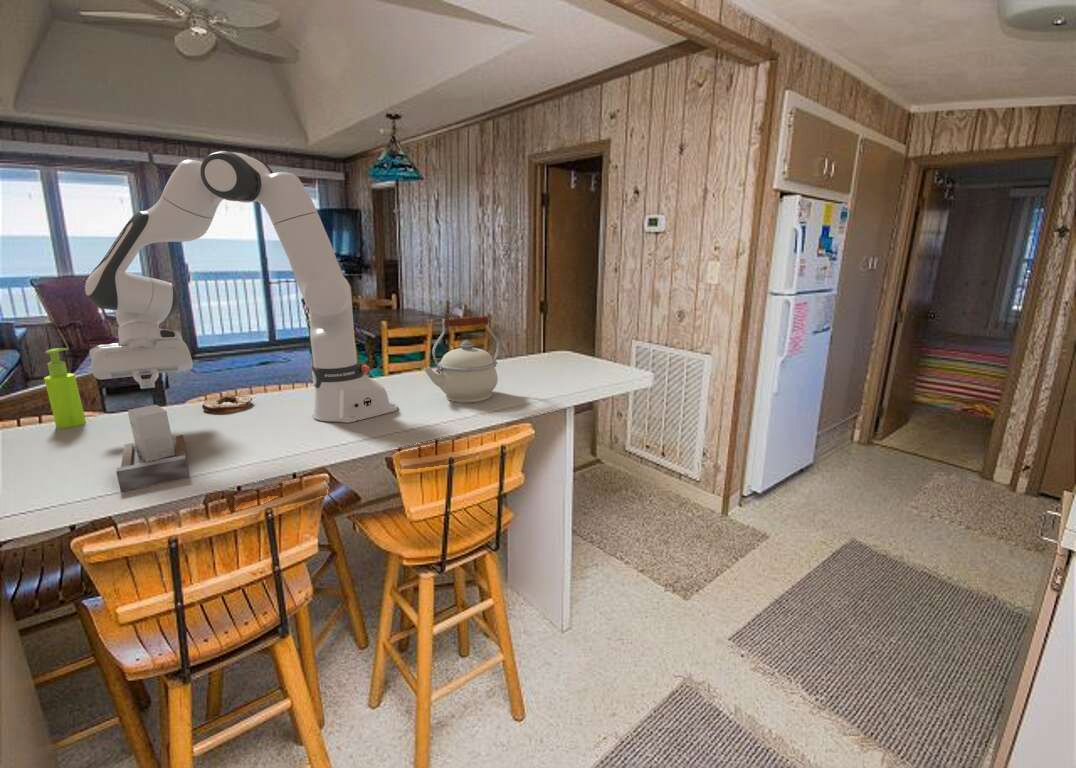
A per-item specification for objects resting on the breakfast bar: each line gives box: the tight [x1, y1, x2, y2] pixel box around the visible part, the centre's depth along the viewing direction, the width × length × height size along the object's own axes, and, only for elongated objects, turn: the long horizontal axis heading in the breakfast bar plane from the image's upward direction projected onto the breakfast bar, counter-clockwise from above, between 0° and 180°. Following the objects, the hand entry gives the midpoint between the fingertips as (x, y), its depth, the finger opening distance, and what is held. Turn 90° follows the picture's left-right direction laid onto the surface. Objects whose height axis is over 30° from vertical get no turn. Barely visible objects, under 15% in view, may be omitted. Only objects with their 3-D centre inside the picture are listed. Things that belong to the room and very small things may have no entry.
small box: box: [127, 404, 176, 463], centre depth 115 cm, size 8×6×10 cm
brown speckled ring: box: [201, 394, 253, 416], centre depth 150 cm, size 15×15×4 cm
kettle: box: [422, 315, 500, 404], centre depth 157 cm, size 25×18×25 cm
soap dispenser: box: [43, 347, 87, 429], centre depth 133 cm, size 6×7×20 cm
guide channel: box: [115, 434, 190, 492], centre depth 111 cm, size 11×23×4 cm, turn 35°
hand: (147, 387), depth 128 cm, fingers closed
